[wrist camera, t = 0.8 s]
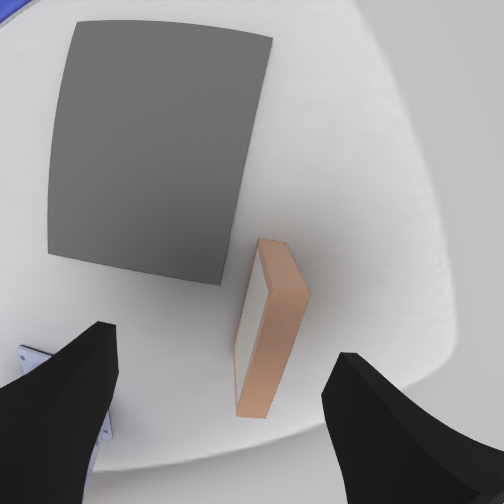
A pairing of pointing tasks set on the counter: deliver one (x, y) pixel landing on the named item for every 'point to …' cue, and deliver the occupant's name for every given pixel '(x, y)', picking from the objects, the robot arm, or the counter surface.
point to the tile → (267, 327)
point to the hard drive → (13, 9)
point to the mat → (152, 144)
